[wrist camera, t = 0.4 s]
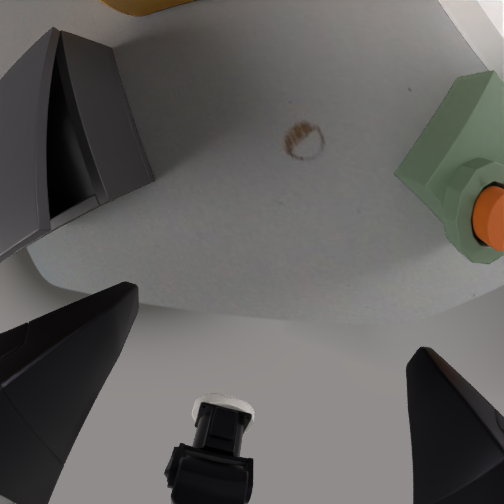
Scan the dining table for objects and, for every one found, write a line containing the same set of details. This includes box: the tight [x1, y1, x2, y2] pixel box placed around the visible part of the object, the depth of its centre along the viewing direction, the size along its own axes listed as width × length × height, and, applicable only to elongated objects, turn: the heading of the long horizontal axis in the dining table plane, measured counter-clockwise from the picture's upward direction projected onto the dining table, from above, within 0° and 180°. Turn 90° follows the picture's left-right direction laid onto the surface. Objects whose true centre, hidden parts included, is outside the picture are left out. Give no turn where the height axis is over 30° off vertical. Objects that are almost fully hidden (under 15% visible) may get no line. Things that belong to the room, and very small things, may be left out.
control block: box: [394, 70, 504, 264], centre depth 15 cm, size 12×9×7 cm
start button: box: [472, 186, 504, 251], centre depth 12 cm, size 4×4×2 cm
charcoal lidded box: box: [16, 30, 155, 253], centre depth 17 cm, size 13×12×7 cm
